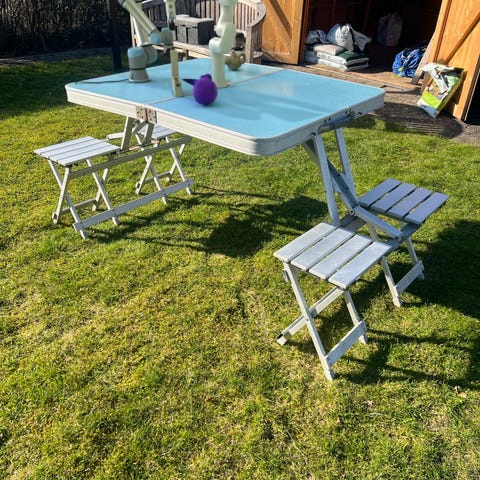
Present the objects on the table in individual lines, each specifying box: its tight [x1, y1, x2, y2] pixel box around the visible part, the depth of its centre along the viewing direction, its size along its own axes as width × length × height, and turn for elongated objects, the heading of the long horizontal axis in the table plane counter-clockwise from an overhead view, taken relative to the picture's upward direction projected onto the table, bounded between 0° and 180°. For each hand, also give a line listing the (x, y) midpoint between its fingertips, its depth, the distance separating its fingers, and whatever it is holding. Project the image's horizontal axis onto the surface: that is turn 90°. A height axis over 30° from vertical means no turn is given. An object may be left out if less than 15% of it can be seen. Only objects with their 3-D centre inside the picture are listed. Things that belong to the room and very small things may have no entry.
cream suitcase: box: [171, 76, 183, 98], centre depth 298 cm, size 17×5×9 cm, turn 12°
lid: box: [170, 46, 180, 78], centre depth 298 cm, size 18×5×8 cm
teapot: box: [224, 50, 247, 71], centre depth 368 cm, size 21×12×15 cm, turn 120°
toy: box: [181, 73, 219, 106], centre depth 272 cm, size 16×18×27 cm
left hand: (172, 57), depth 307 cm, fingers open, 13 cm apart
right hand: (172, 29), depth 282 cm, fingers open, 9 cm apart
